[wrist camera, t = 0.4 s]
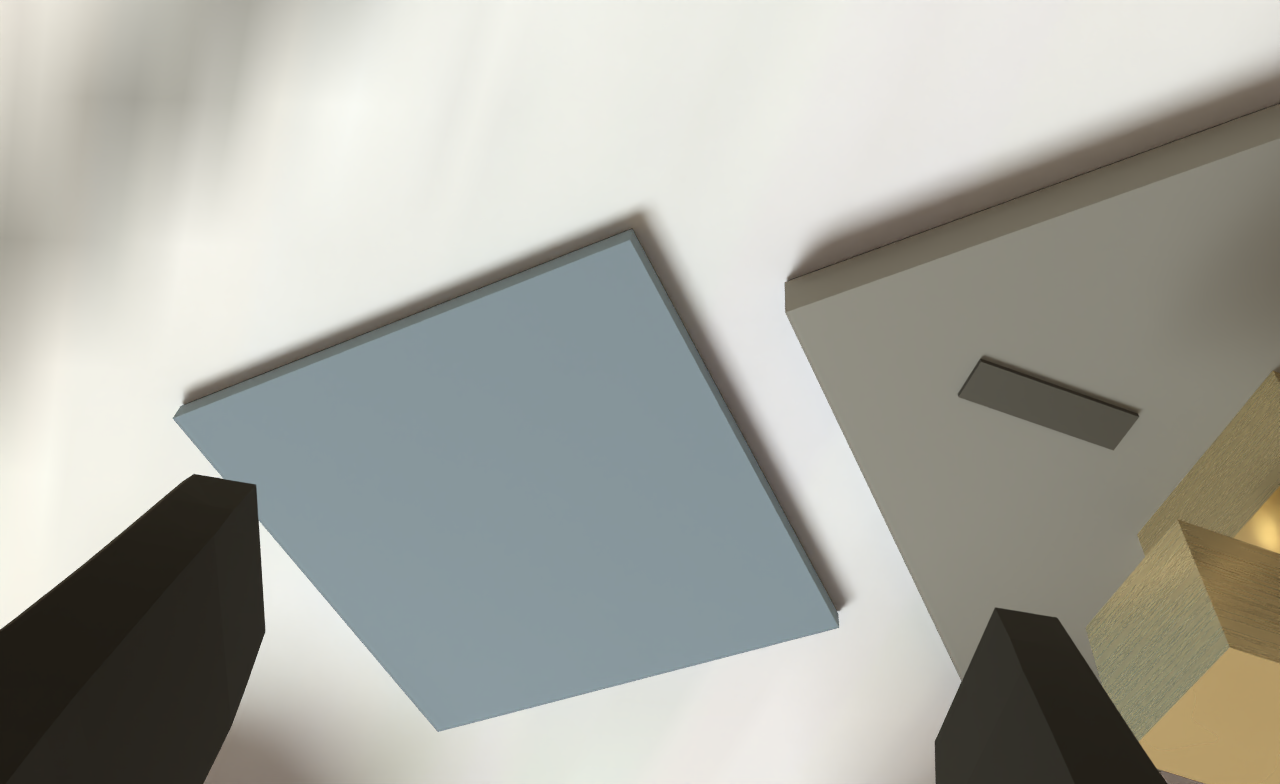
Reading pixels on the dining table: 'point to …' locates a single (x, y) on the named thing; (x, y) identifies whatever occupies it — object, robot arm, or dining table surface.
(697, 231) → the dining table surface
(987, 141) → the dining table surface
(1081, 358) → the cover plate
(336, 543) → the pad
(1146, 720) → the t key
